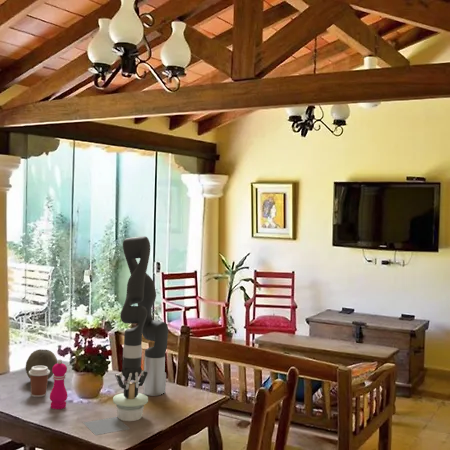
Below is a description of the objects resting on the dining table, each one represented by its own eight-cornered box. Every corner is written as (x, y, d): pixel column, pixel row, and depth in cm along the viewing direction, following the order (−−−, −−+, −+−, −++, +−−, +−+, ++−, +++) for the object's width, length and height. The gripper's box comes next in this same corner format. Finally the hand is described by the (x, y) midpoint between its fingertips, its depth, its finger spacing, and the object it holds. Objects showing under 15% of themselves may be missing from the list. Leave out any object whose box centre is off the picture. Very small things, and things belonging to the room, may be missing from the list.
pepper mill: (62, 410, 249) (63, 362, 248) (46, 408, 251) (47, 361, 250) (70, 405, 256) (71, 358, 255) (54, 403, 258) (56, 356, 257)
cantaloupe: (51, 386, 279) (52, 354, 278) (20, 385, 279) (21, 353, 279) (60, 377, 293) (61, 347, 293) (31, 376, 293) (32, 345, 293)
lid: (139, 393, 254) (140, 376, 254) (153, 403, 242) (154, 386, 242) (107, 398, 247) (108, 380, 247) (120, 408, 235) (121, 390, 235)
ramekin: (131, 425, 237) (131, 412, 237) (109, 418, 243) (110, 405, 243) (149, 417, 247) (149, 404, 246) (128, 411, 253) (128, 398, 252)
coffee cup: (51, 391, 273) (52, 365, 272) (46, 398, 263) (47, 371, 263) (31, 390, 272) (32, 364, 272) (25, 397, 263) (26, 370, 263)
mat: (116, 417, 244) (116, 416, 244) (130, 429, 232) (130, 428, 232) (82, 423, 236) (82, 422, 236) (95, 436, 225) (95, 435, 225)
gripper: (144, 351, 251) (142, 392, 252) (112, 354, 243) (110, 396, 244) (152, 355, 244) (150, 397, 245) (119, 359, 237) (117, 402, 238)
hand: (130, 397), depth 245 cm, fingers closed on lid, 3 cm apart
